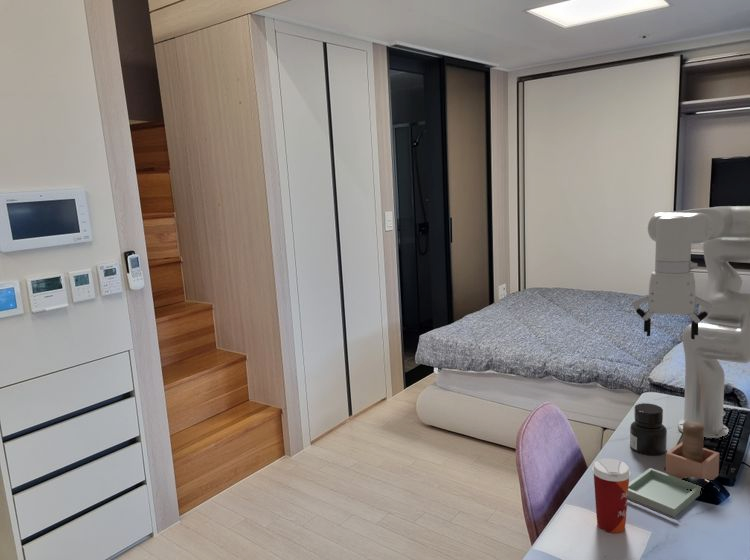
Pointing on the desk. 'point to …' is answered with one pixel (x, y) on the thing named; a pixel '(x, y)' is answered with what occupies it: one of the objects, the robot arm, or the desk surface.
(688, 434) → the walnut peg
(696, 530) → the desk surface
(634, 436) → the ink bottle
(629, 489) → the sage tray
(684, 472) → the terracotta box
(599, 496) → the paper cup
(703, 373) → the robot arm
